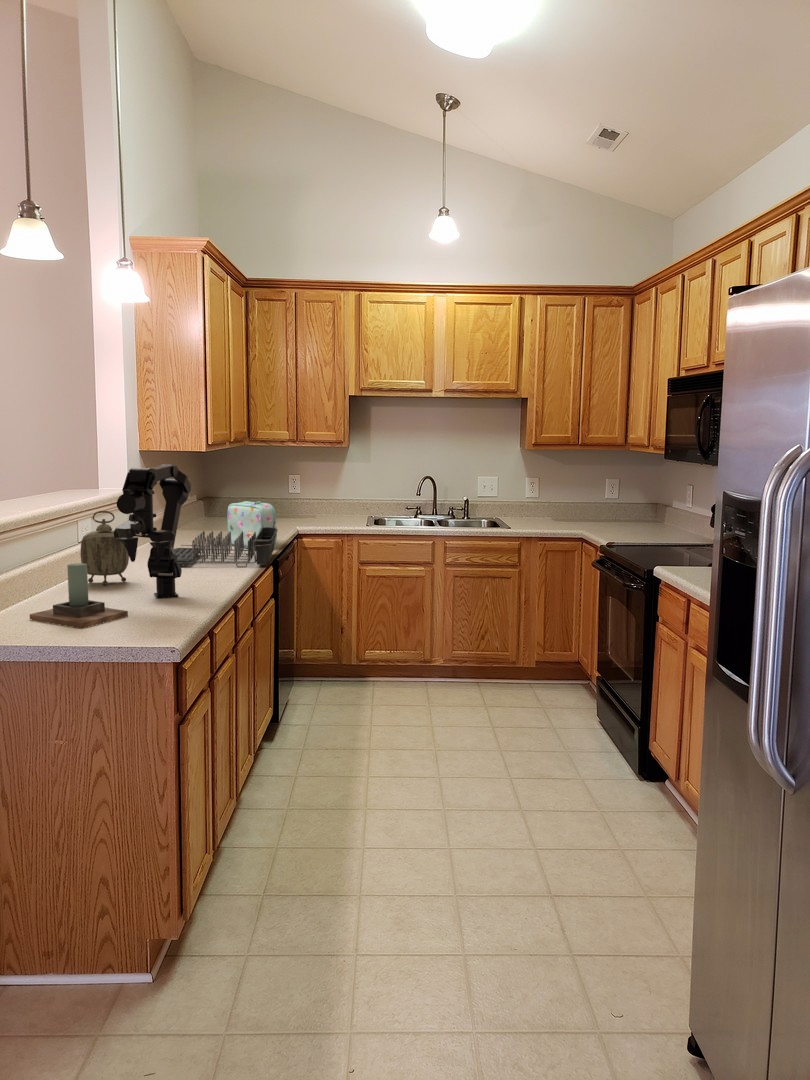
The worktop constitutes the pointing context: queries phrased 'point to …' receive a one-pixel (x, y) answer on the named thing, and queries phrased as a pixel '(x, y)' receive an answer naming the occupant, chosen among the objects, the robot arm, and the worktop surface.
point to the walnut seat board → (79, 614)
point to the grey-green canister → (78, 585)
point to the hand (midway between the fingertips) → (144, 563)
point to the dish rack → (259, 544)
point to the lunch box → (249, 519)
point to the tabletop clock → (103, 552)
